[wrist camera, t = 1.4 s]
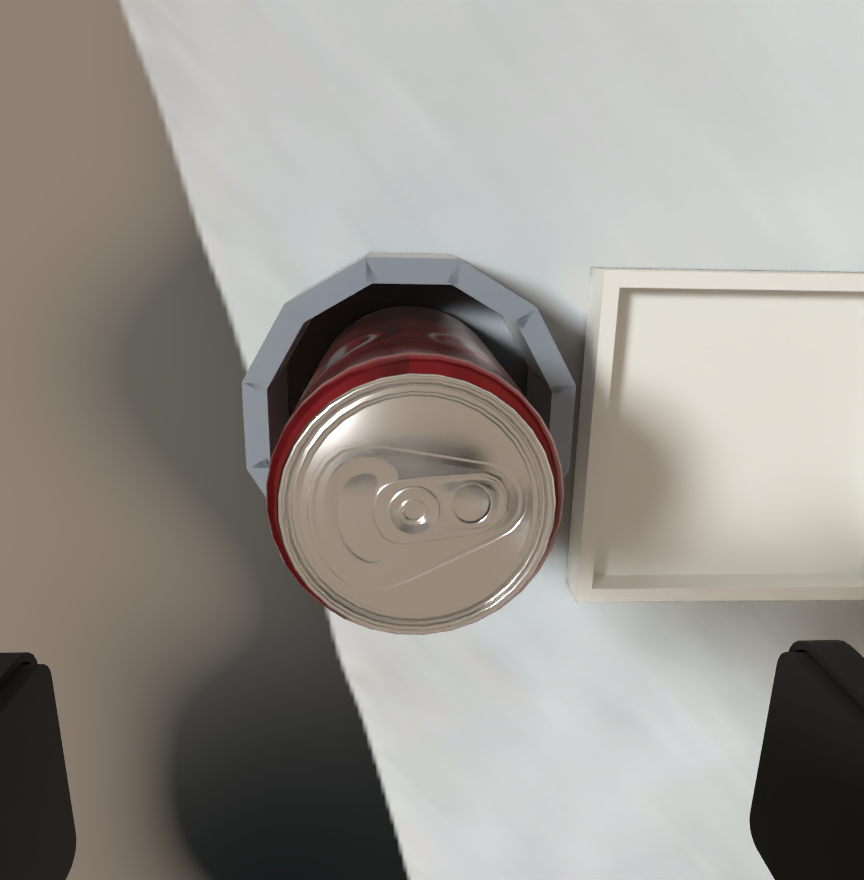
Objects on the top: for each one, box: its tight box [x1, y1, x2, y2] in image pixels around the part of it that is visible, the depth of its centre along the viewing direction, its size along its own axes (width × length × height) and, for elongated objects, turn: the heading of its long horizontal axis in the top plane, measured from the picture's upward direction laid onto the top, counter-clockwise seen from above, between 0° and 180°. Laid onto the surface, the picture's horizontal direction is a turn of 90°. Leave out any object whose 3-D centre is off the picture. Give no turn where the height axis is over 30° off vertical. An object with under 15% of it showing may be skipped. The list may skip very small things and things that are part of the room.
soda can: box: [266, 306, 564, 635], centre depth 23 cm, size 7×7×12 cm
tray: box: [566, 267, 864, 602], centre depth 29 cm, size 13×13×2 cm
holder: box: [242, 252, 576, 498], centre depth 26 cm, size 11×11×4 cm
